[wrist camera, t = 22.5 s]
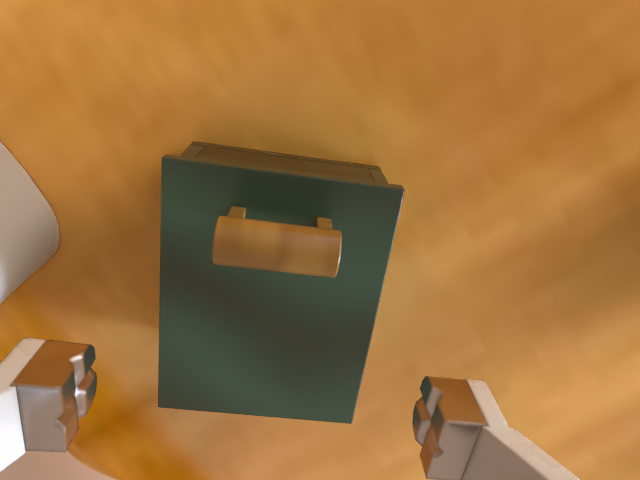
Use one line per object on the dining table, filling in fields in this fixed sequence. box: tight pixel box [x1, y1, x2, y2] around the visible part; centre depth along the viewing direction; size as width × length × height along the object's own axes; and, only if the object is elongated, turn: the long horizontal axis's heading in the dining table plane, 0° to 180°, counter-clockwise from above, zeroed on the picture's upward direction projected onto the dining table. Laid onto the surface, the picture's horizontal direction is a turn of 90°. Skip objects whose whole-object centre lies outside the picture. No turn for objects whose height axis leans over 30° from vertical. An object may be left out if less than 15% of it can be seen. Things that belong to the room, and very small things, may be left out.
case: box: [181, 142, 388, 184], centre depth 28 cm, size 14×11×6 cm
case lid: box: [158, 154, 405, 424], centre depth 23 cm, size 14×11×5 cm
